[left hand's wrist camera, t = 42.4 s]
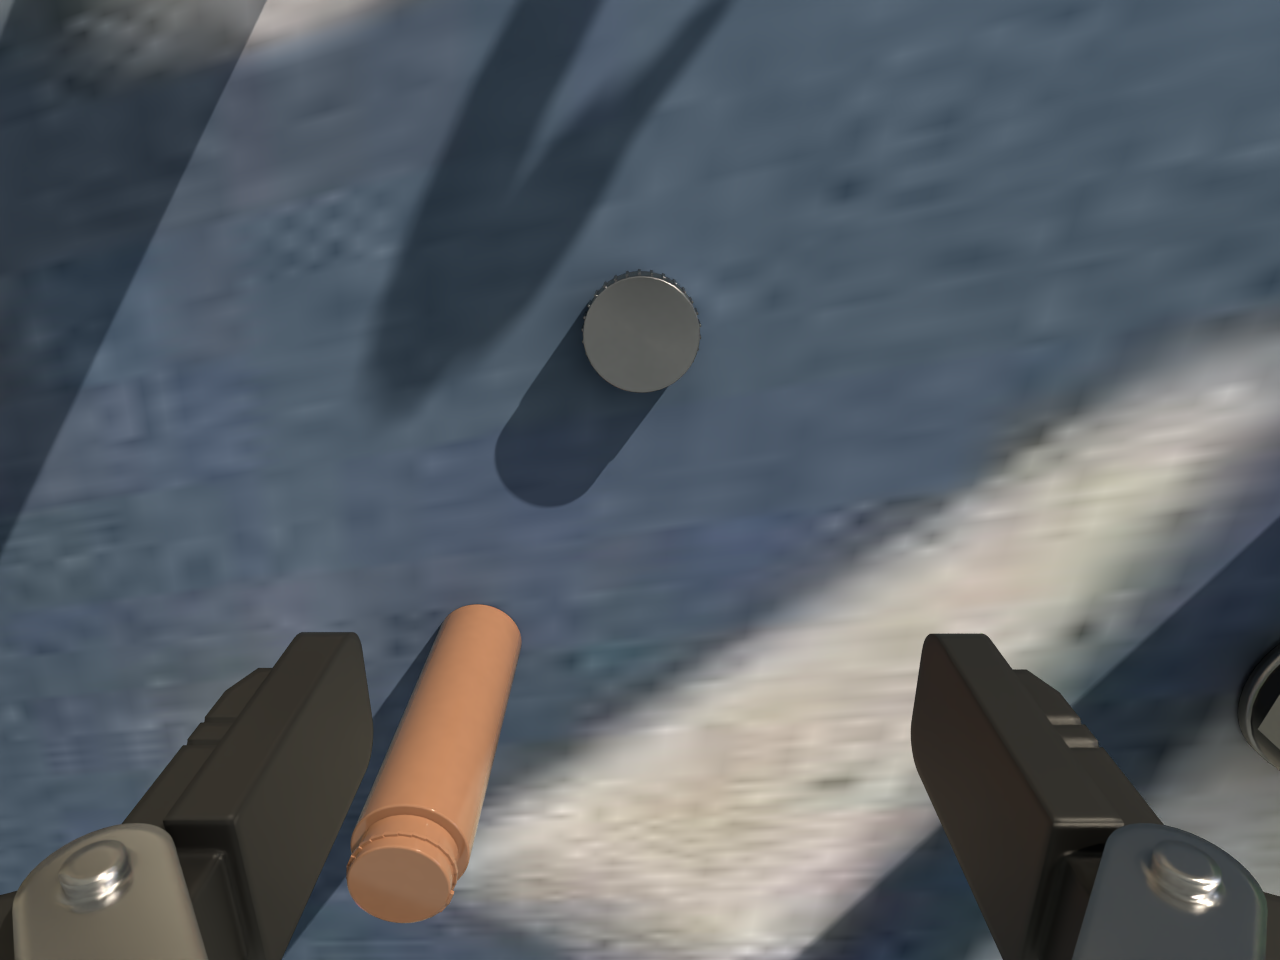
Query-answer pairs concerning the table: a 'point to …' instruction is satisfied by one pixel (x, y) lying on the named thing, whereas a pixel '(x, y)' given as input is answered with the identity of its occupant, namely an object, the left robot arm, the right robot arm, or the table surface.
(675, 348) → the lid
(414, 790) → the jar
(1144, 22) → the table surface
